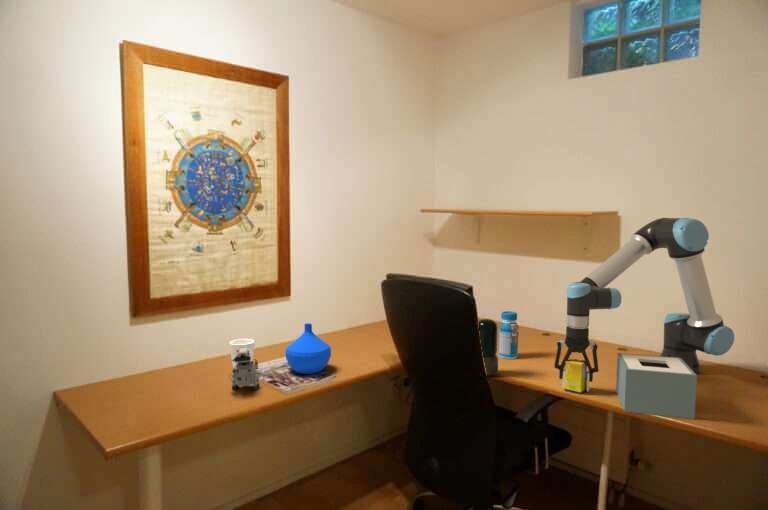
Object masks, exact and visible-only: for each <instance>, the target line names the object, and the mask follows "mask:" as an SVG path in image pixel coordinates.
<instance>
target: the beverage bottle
mask: <svg viewBox="0 0 768 510" xmlns="http://www.w3.org/2000/svg"><path fill="white" fill-rule="evenodd" d="M501 320H502V321H501V322H500V325H499V331H498V335H499V337H498V339H499V340H498V343H499V344H498V346H499V347H498V348H499V349H498V356H499V357H500V358H502V359H506V360H508V359H509V360H513V359H514V360H515V359H517V358H518V357H519V354H518V353H519V349H518V348H519V334H520V333H519V325H518V323H517V320H518V313H517V312H516V311H512V310H511V311H510V310H508V311H505V310H504V311H501Z"/></svg>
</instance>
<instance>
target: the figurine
mask: <svg viewBox="0 0 768 510" xmlns="http://www.w3.org/2000/svg"><path fill="white" fill-rule="evenodd" d="M236 351H238V350H236ZM251 357H252V353H251V352H250V350H249V349H248V348H240V350H239V351H238V352H237V354H236V355H235V357H234V359H233V360H232V359H231V362H232V361H235V363H236V365H235V366H234V367H233V366H232V370H231V371H232V373H231V375H230V376H229V377H230V380H231V384H232V385H231V390H235V391H236V390H237V388H238V387H239V386H242V387H243V386H244V387H245V386H250V385H252V391H257V390H258V388H259V387H260V385H261V384H260V381H259V379H260V377H259V374H258V373H257V371H256V370H259V362H258V360H257V359H256V358H254V359H253V360H252V361H251Z"/></svg>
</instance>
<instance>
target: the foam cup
mask: <svg viewBox="0 0 768 510" xmlns="http://www.w3.org/2000/svg"><path fill="white" fill-rule="evenodd" d="M228 346H229V347H228V349H229V350H230V356H231V357H230V358H231V362H232V363H231V364H232V368H233V367H234V366H235V365H236V363H235V361H232V360H233V359H234V357H235V355H236V354H237V352H238V351H239V350H240V348H248V349H249V350H250V352H251V353H252V357H251V361H253V360H254V359H253V358H254V349H255V340H254V339H251V338H238V339H233V340H230V341H229V345H228ZM236 350H238V351H236Z"/></svg>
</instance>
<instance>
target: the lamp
mask: <svg viewBox="0 0 768 510" xmlns="http://www.w3.org/2000/svg"><path fill="white" fill-rule="evenodd" d="M477 322H479V331H480V340H481V347H482V352H483V358H484V363H485V368H486V372H487V375H488V376H487V377H493V376H495V375H497V374H498V372H499V357H498V355H497V353H498V332H499V331H498V330H499V329H498V324H497V322H496V321H495V320H493V319H491V318H482V319H478V321H477Z"/></svg>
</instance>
